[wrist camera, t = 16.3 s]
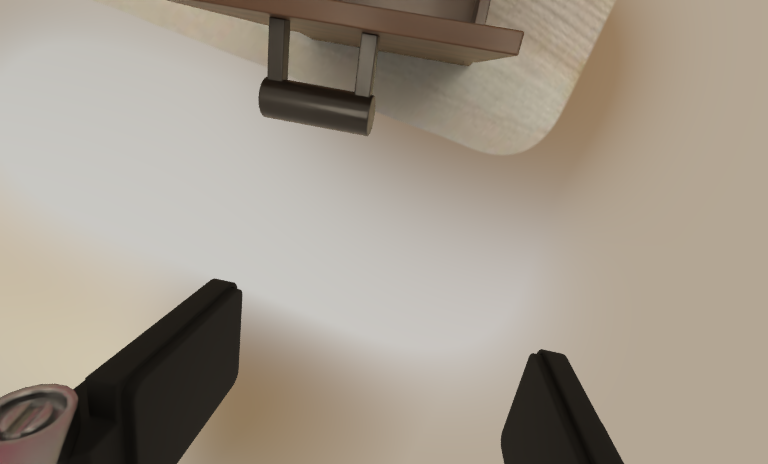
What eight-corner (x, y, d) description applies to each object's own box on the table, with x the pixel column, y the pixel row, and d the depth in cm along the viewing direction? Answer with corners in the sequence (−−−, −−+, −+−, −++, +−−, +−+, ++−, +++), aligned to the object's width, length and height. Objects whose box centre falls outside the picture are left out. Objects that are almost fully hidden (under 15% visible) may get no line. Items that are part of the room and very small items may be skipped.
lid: (110, -38, 14) (126, 100, 16) (525, 31, 13) (486, 168, 15) (284, 18, 30) (281, 84, 32) (479, 51, 29) (463, 117, 31)
